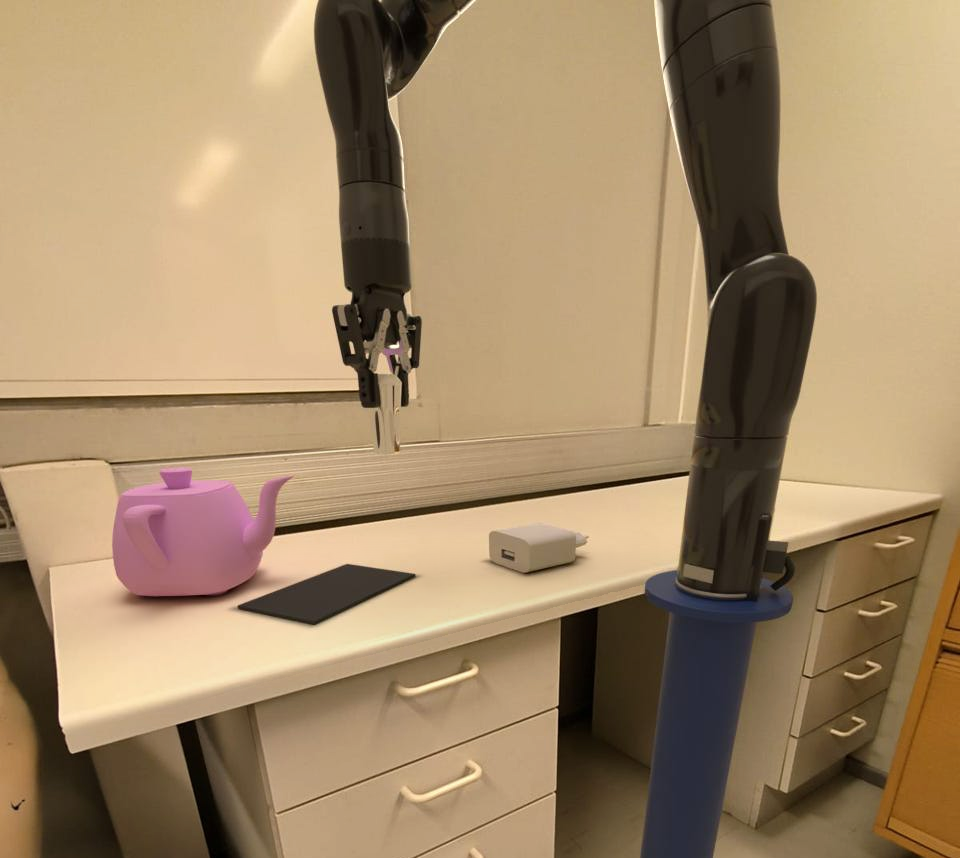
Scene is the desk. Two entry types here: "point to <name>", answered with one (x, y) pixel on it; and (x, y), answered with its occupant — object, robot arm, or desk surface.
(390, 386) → the milkshake
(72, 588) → the desk surface
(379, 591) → the mat
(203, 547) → the teapot
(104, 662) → the desk surface
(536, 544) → the charger
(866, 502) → the desk surface
